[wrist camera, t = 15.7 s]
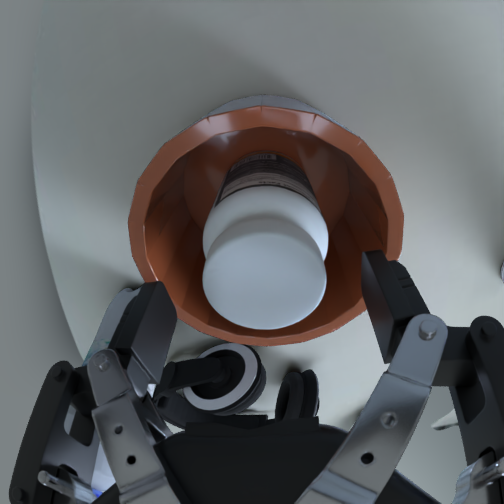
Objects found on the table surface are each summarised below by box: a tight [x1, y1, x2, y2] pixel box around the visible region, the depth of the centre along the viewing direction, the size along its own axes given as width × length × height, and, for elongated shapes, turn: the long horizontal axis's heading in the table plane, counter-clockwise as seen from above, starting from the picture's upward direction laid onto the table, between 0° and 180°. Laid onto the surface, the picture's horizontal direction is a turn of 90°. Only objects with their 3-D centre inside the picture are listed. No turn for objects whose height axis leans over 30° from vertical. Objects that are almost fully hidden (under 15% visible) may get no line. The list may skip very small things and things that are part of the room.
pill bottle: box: [202, 151, 328, 329], centre depth 15 cm, size 6×6×10 cm
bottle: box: [64, 287, 155, 498], centre depth 18 cm, size 7×7×20 cm
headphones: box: [152, 342, 319, 430], centre depth 30 cm, size 18×8×20 cm
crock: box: [128, 95, 404, 347], centre depth 16 cm, size 13×13×8 cm
